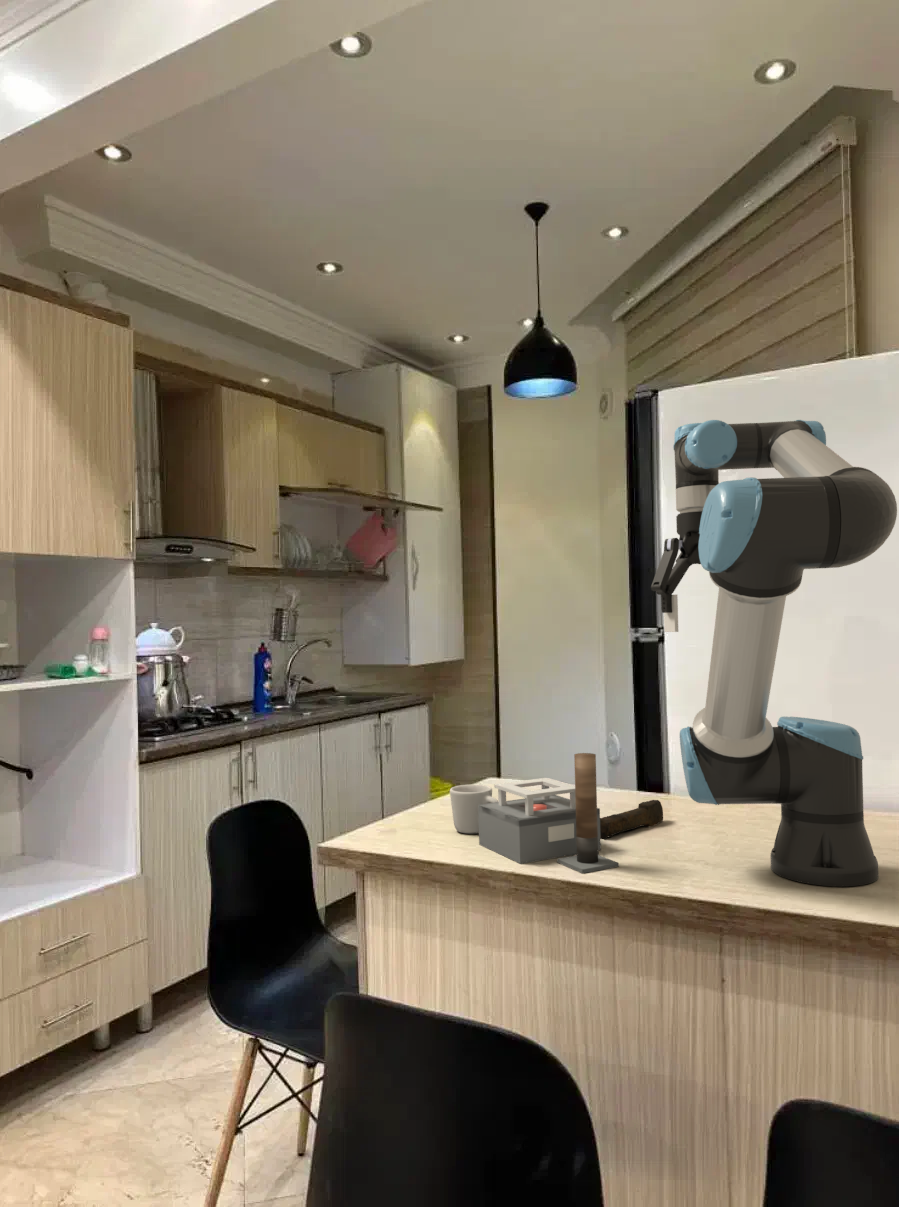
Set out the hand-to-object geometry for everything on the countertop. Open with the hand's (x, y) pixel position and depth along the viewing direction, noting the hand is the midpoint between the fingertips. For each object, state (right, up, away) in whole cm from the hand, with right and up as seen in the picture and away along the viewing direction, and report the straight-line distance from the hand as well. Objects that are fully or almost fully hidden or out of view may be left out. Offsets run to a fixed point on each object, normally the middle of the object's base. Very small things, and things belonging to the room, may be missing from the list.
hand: (701, 630), depth 156 cm
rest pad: (-23, -37, -16) cm, 46 cm away
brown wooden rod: (-23, -37, -16) cm, 46 cm away
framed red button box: (-29, -37, -4) cm, 48 cm away
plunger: (-29, -37, -4) cm, 48 cm away
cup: (-40, -38, +7) cm, 55 cm away
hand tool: (-11, -38, +7) cm, 40 cm away
